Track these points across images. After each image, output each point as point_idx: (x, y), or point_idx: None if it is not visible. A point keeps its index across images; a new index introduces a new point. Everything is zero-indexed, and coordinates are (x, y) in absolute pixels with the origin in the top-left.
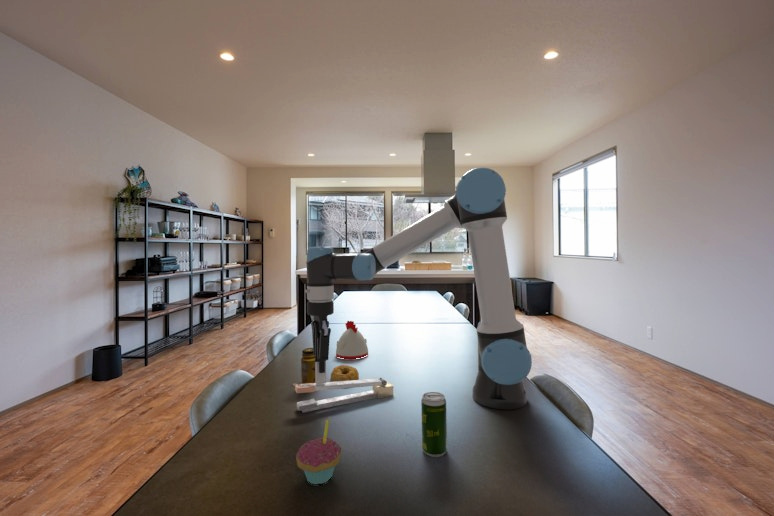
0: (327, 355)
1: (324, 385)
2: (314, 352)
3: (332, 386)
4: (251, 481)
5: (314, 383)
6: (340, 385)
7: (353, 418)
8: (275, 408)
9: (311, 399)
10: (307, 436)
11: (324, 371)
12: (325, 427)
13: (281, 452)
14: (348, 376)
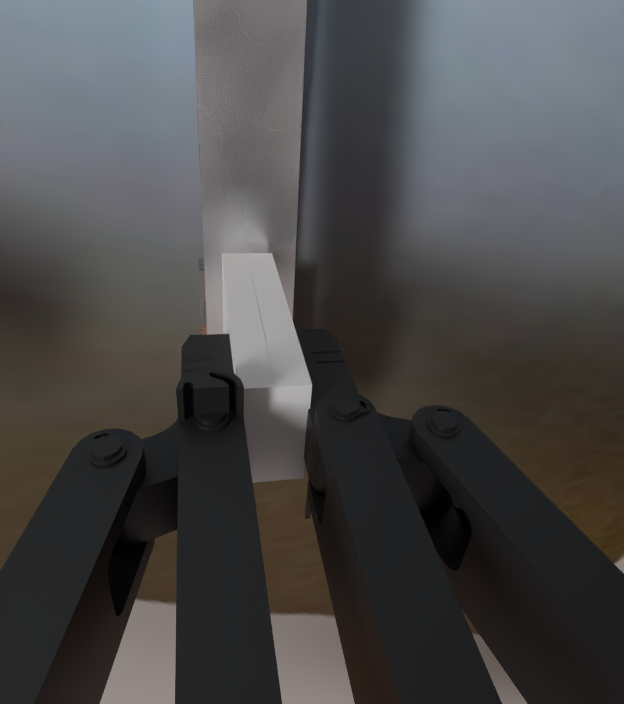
0: (499, 465)
1: (287, 265)
2: (148, 553)
3: (297, 188)
4: (618, 492)
5: (215, 333)
6: (301, 101)
7: (521, 71)
8: (138, 435)
9: (201, 290)
10: (516, 344)
11: (333, 340)
12: None
13: (550, 430)
14: None
